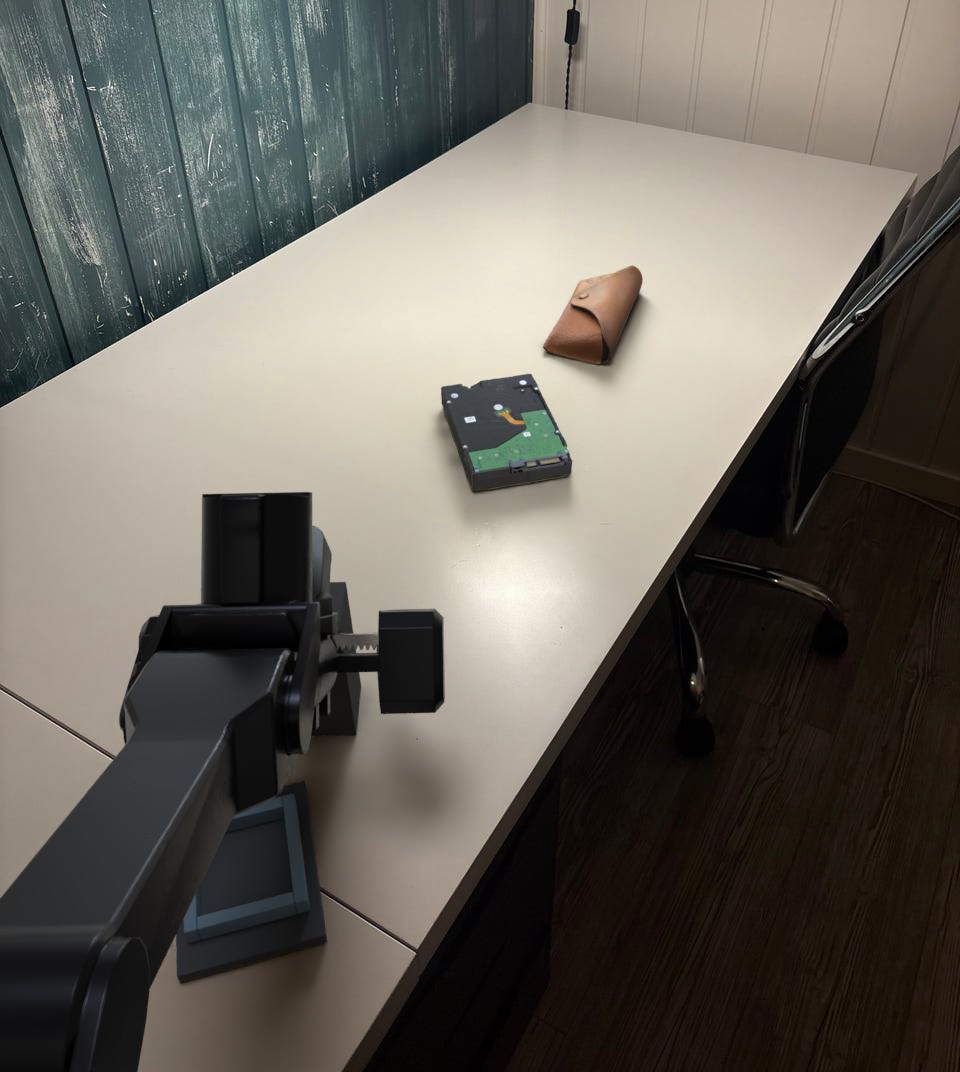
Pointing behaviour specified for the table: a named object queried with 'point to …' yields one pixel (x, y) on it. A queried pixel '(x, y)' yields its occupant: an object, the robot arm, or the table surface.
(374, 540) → the table surface
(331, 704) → the dark grey square block
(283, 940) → the base pad
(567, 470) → the disk drive
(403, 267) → the table surface
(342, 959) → the table surface
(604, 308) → the sunglasses case
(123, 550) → the table surface
